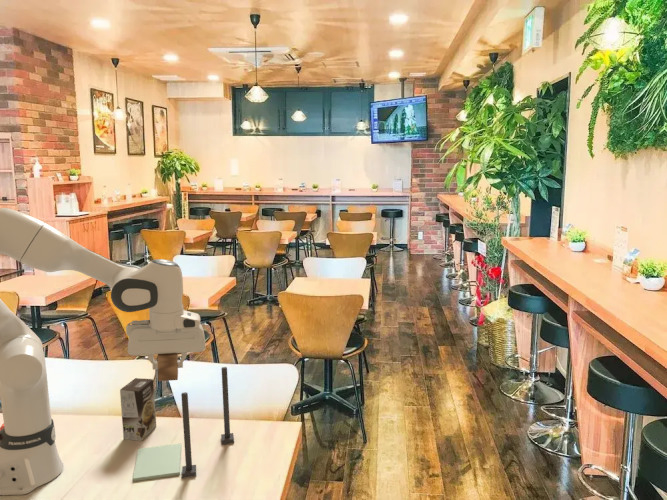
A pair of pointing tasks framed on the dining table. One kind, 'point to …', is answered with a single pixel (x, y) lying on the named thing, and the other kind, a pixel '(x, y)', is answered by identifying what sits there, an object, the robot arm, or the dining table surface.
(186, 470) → the front cord post
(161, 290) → the robot arm
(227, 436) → the post
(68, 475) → the dining table surface
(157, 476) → the board
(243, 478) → the dining table surface
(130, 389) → the coffee box
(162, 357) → the walnut block
